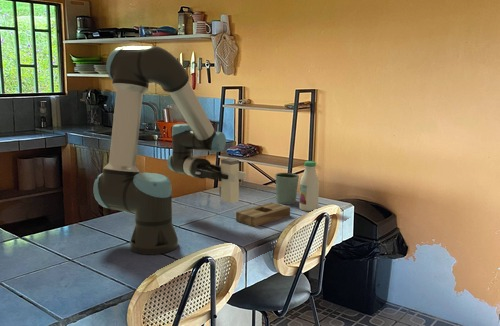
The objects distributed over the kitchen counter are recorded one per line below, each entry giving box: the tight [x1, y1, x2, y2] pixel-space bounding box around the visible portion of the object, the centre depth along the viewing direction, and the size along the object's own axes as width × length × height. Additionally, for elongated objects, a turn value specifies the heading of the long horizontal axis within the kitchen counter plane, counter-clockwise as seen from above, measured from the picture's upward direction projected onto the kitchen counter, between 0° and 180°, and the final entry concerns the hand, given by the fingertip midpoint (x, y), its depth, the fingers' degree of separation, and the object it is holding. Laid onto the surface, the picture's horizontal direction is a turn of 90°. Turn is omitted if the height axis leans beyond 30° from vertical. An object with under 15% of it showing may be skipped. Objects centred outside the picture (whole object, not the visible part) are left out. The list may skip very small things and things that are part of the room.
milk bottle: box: [298, 160, 320, 212], centre depth 201 cm, size 8×8×20 cm
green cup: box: [275, 172, 300, 205], centre depth 213 cm, size 10×10×12 cm
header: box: [235, 202, 291, 228], centre depth 189 cm, size 10×20×4 cm, turn 135°
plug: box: [220, 157, 240, 204], centre depth 174 cm, size 5×4×15 cm
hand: (240, 177), depth 170 cm, fingers closed on plug, 4 cm apart
